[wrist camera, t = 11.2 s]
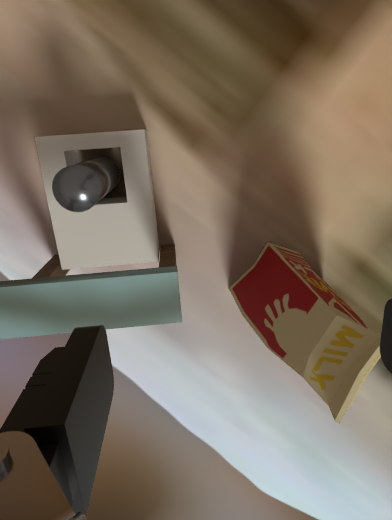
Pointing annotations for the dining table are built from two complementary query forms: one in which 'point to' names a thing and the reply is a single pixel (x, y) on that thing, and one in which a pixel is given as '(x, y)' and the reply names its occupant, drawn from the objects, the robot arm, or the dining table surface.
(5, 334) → the grey arch
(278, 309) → the milk carton
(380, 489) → the dining table surface
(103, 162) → the peg
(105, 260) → the socket block
